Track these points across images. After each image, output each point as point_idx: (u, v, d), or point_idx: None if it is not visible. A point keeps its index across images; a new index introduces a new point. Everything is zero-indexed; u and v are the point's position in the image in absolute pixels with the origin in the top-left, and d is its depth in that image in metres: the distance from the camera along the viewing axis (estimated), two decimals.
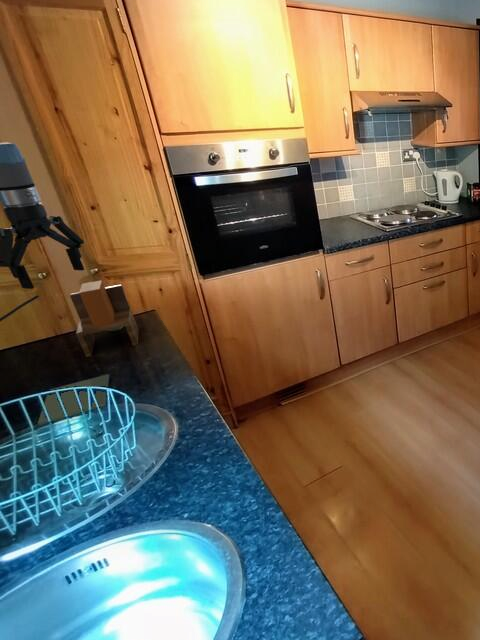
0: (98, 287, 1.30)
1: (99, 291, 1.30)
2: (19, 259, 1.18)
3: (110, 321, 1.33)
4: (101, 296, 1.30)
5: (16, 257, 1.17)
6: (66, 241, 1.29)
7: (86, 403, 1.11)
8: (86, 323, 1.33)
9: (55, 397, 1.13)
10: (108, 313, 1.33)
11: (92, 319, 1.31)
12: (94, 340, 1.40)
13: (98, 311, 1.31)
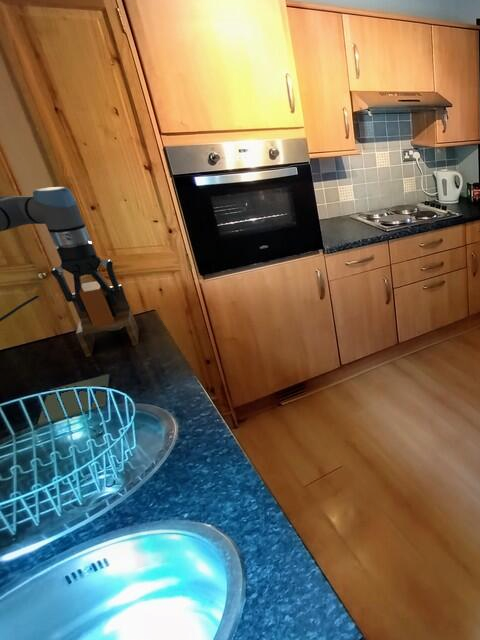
0: (98, 287, 1.30)
1: (99, 291, 1.30)
2: (78, 295, 1.29)
3: (110, 321, 1.33)
4: (101, 296, 1.30)
5: (75, 295, 1.29)
6: (102, 287, 1.32)
7: (86, 403, 1.11)
8: (86, 323, 1.33)
9: (55, 397, 1.13)
10: (108, 313, 1.33)
11: (92, 319, 1.31)
12: (94, 340, 1.40)
13: (98, 311, 1.31)
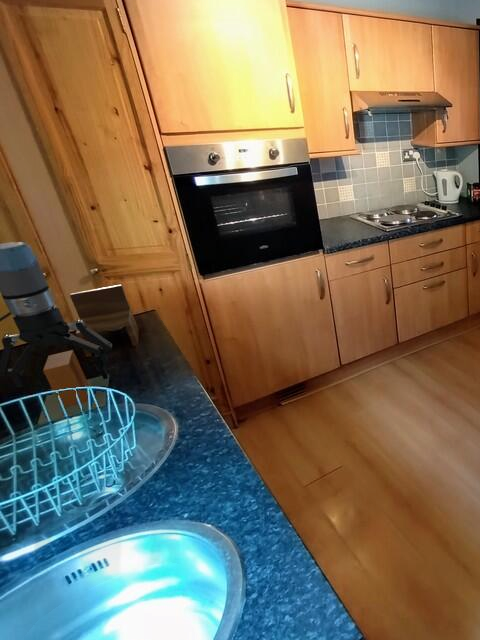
0: (67, 361, 1.08)
1: (68, 367, 1.07)
2: (17, 369, 1.04)
3: (82, 401, 1.11)
4: (70, 372, 1.08)
5: (13, 367, 1.04)
6: (86, 349, 1.11)
7: (86, 403, 1.11)
8: (86, 323, 1.33)
9: (55, 397, 1.13)
10: (80, 391, 1.10)
11: None
12: None
13: None
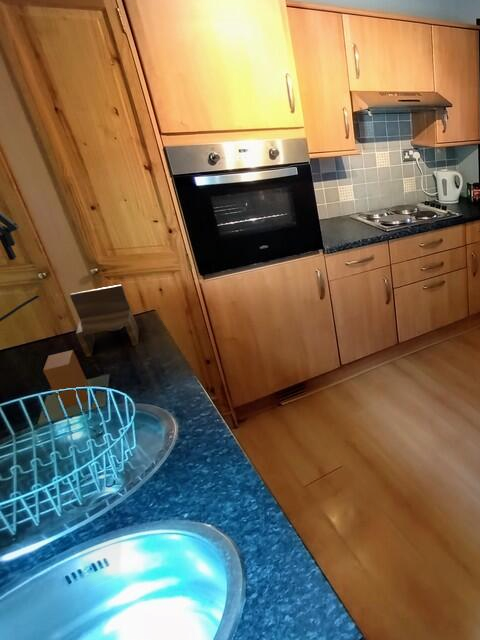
0: (67, 361, 1.08)
1: (68, 367, 1.07)
2: None
3: (82, 401, 1.11)
4: (70, 372, 1.08)
5: None
6: None
7: (86, 403, 1.11)
8: (86, 323, 1.33)
9: (55, 397, 1.13)
10: (80, 391, 1.10)
11: None
12: (94, 340, 1.40)
13: None
